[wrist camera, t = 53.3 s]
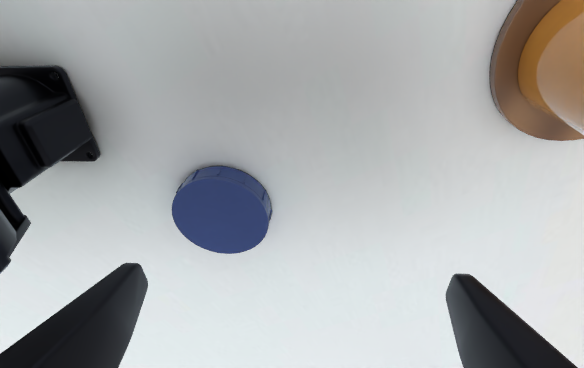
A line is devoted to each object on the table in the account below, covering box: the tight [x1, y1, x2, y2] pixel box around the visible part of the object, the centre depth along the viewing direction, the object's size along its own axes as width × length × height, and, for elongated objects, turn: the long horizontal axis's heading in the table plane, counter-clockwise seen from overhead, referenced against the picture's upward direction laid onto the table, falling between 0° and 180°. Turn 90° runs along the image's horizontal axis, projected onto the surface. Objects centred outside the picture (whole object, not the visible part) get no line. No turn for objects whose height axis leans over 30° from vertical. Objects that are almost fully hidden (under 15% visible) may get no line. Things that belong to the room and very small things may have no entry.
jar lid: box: [172, 166, 272, 254], centre depth 23 cm, size 7×7×2 cm
